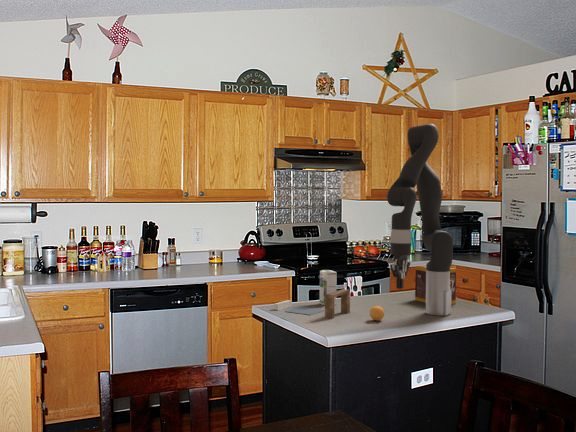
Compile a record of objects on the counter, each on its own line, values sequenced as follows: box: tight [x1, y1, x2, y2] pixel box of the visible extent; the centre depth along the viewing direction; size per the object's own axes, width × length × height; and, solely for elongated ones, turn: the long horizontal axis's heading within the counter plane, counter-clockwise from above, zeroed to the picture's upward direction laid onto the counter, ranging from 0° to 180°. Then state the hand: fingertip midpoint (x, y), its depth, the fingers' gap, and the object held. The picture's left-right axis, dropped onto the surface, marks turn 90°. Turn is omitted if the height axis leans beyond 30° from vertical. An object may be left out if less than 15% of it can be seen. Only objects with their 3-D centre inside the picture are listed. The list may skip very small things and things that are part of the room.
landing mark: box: [284, 306, 325, 316], centre depth 250 cm, size 12×12×1 cm
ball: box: [369, 305, 385, 322], centre depth 232 cm, size 6×6×6 cm
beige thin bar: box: [273, 299, 293, 311], centre depth 256 cm, size 2×10×2 cm, turn 146°
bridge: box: [324, 288, 351, 320], centre depth 241 cm, size 3×14×9 cm, turn 146°
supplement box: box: [414, 264, 457, 305], centre depth 271 cm, size 10×15×16 cm
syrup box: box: [318, 269, 338, 307], centre depth 264 cm, size 6×6×14 cm
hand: (399, 288), depth 226 cm, fingers closed
